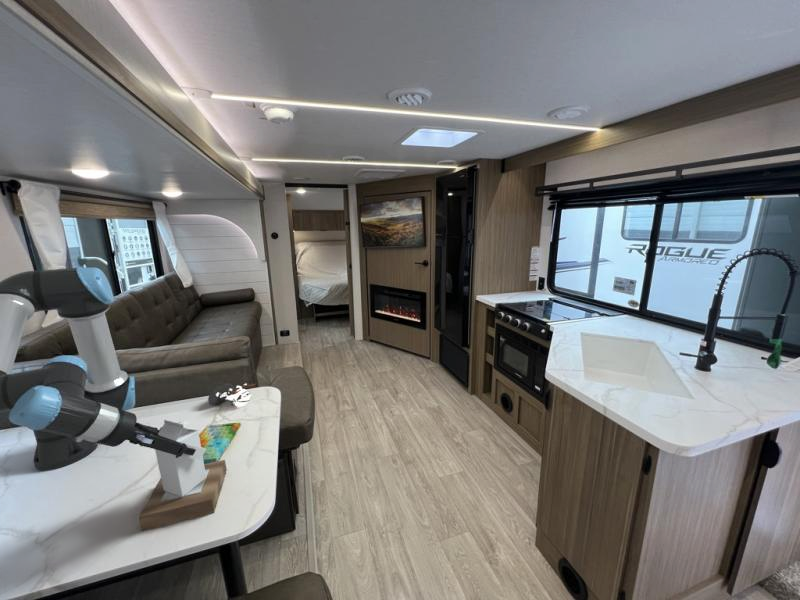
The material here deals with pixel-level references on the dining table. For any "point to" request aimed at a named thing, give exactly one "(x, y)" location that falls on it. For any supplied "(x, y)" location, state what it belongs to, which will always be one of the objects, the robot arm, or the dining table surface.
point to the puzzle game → (217, 440)
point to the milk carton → (180, 460)
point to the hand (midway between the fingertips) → (192, 448)
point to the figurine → (230, 395)
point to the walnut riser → (184, 500)
